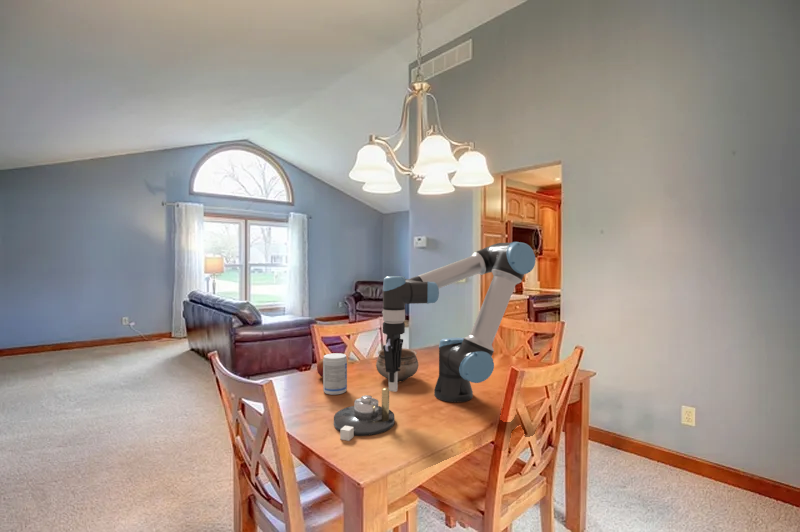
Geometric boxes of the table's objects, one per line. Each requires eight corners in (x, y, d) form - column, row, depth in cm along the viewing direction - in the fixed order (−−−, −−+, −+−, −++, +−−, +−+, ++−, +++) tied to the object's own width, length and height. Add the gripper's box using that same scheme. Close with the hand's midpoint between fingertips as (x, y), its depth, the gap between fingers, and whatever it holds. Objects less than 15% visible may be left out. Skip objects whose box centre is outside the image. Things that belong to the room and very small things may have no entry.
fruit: (339, 380, 176) (340, 358, 176) (316, 382, 174) (316, 359, 174) (338, 373, 186) (338, 352, 186) (316, 374, 184) (317, 353, 184)
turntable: (402, 415, 138) (403, 381, 138) (380, 440, 119) (380, 400, 119) (351, 407, 145) (351, 374, 145) (322, 429, 126) (322, 391, 126)
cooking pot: (406, 391, 163) (406, 361, 163) (365, 385, 170) (365, 356, 170) (426, 374, 186) (426, 348, 186) (389, 370, 194) (389, 345, 193)
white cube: (353, 436, 122) (353, 426, 122) (349, 440, 119) (349, 430, 119) (344, 435, 123) (345, 425, 123) (340, 439, 120) (340, 429, 120)
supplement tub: (350, 392, 161) (351, 356, 160) (328, 397, 155) (329, 359, 155) (340, 386, 169) (340, 351, 168) (319, 390, 163) (319, 354, 163)
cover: (381, 412, 135) (382, 394, 135) (372, 421, 128) (372, 402, 128) (360, 409, 138) (360, 391, 138) (350, 417, 131) (350, 399, 131)
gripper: (390, 318, 143) (390, 383, 143) (375, 323, 131) (374, 395, 131) (410, 319, 140) (409, 386, 141) (397, 325, 128) (396, 398, 128)
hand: (392, 390), depth 136 cm, fingers closed
